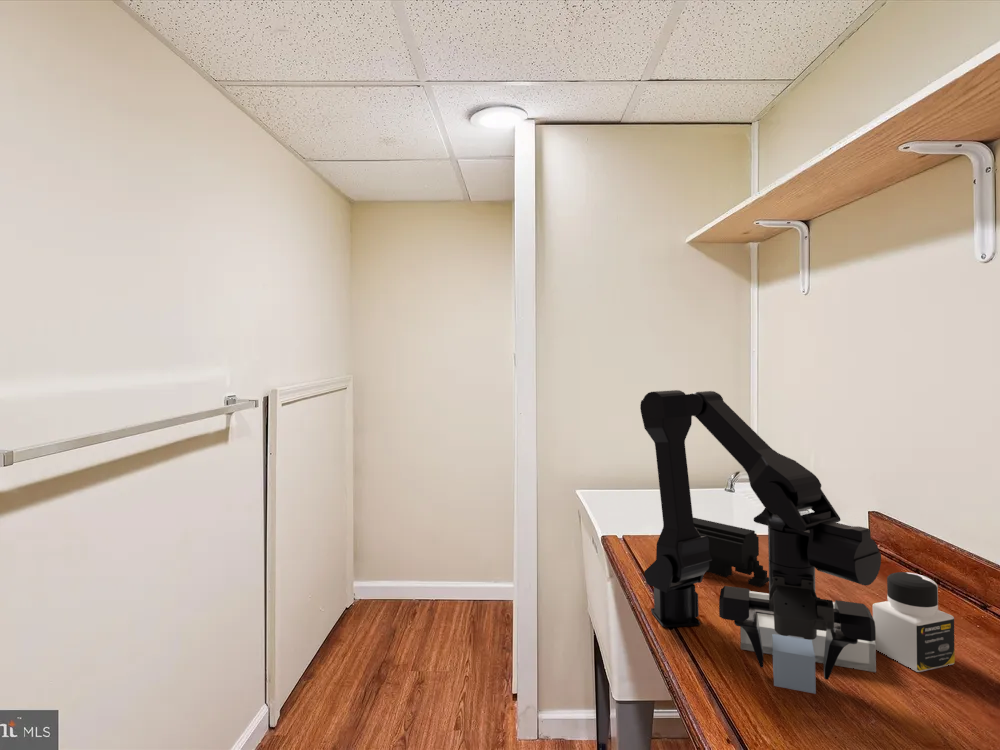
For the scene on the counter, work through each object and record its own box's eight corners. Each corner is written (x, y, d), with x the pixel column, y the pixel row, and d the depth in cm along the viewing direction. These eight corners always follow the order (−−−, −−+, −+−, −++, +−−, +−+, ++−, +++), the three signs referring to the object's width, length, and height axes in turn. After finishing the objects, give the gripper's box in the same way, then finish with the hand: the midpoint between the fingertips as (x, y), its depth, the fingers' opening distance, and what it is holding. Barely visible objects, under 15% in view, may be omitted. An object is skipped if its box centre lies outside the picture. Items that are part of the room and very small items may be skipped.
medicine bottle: (918, 673, 79) (917, 589, 78) (872, 649, 86) (871, 571, 85) (956, 665, 81) (955, 582, 80) (907, 641, 87) (907, 565, 87)
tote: (740, 649, 87) (740, 623, 86) (742, 612, 99) (742, 590, 99) (876, 672, 79) (875, 644, 79) (859, 629, 92) (859, 605, 91)
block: (774, 686, 77) (773, 650, 77) (773, 667, 81) (772, 633, 81) (815, 694, 75) (815, 657, 75) (812, 675, 79) (811, 640, 79)
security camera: (758, 591, 108) (757, 540, 107) (673, 566, 122) (672, 520, 122) (774, 582, 112) (773, 532, 112) (691, 558, 126) (690, 514, 126)
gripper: (715, 572, 74) (718, 688, 75) (883, 593, 66) (885, 722, 67) (720, 546, 84) (722, 649, 85) (866, 561, 77) (868, 674, 77)
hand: (793, 672), depth 78 cm, fingers open, 8 cm apart
